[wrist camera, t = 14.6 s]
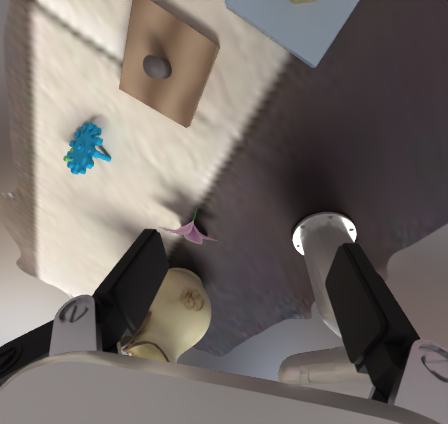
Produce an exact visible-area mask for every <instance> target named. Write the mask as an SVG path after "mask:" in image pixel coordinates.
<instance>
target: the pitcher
mask: <svg viewBox="0 0 448 424" xmlns="http://www.w3.org/2000/svg"><path fill="white" fill-rule="evenodd" d="M210 320H211V303H210V300H209V297H208V295H207V293H206V291H205V289H204V288H203V286H202V282H201V280H200V278H199V277H198V276H197V275H196V274H195V273H193V272H192V271H190V270H187V269H184V268H170V269H169V270H168V272H167V274H166V276H165V278H164V280H163V282H162V284H161V286H160V288H159V290H158V292H157V295H156V297H155V299H154V301H153V303H152V305H151V307H150V309H149V311H148V313H147V315H146V317H145V319H144V321H143V323H142V325H141V327H140V328H139V329H138V330H136V331H135V333H134V335H133V336H128V335H123V336H122V338H121V340H120V345H121V350H123V351H125V352H126V353H127V354H128V355H129V356H136V357H142V358H147V359H153V360H159V361H165V362H171V363H176V361H177V359H178V357H179V356H180V355H181V354H182V353H183V352H185V351H186V350H187V349H189V348H190V347H192V346H193V345H195V344H196V343H197V342H198V341H199V340H200V339H201V338H202V337H203V335H204V334H205V332H206V331H207V329H208V327H209V324H210Z"/></svg>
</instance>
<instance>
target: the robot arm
mask: <svg viewBox="0 0 448 424" xmlns="http://www.w3.org/2000/svg"><path fill="white" fill-rule="evenodd" d="M292 239H293V244H294V246H295V248H296V249H297V250H298V251H299V252H300V253H301V254H303V255H304V258H305V262H306V265H307V269H308V273H309V277H310V281H311V285H312V289H313V292H314V296H315V300H316V304H317V307H318V310H319V313H320V316H321V318H322V319H323V321H324V322H325V323H326V325H327V326H328V327H329V328H330V329H331V330H332V331H334V332H335V333H336V334H337V335H338V336H340V337H341V338H342V339H343V343H344V346H339V347H335V348H332V349H325V350H318V351H311V352H305V353H298V354H295V355H291V356H289V357H287V358H286V359H285V360H284V361H283V362H282V364H281V366H280V369H279V374H278V382H277V381H272V380H266V379H261V378H255V377H250V376H244V375H238V374H233V373H227V372H222V371H216V370H210V369H205V368H199V367H193V366H188V365H182V364H176V363H171V362H165V361H159V360H153V359H147V358H142V357H136V356H129V355H122V353H121V345H120V340H121V338H122V336H123V335H128V336H133V335H134V333H135V331H136V330H138V329H139V328H140V327H141V325H142V323H143V321H144V319H145V317H146V315H147V313H148V311H149V309H150V307H151V305H152V303H153V301H154V299H155V297H156V295H157V292H158V290H159V288H160V286H161V284H162V282H163V280H164V278H165V276H166V274H167V272H168V270H169V264H168V260H167V257H166V253H165V249H164V246H163V242H162V239H161V235H160V233H159V232H157V230H155V229H145V230H143V232H142V233H141V234H140V235H139V237H138V238H137V239H136V240H135V242H134V243H133V244H132V245H131V247H130V248H129V249H128V250H127V252H126V253H125V254H124V255H123V257H122V258H121V259H120V260H119V262H118V263H117V264H116V266H115V267H114V268H113V269H112V271H111V272H110V273H109V274H108V276H107V277H106V278H105V279H104V281H103V282H102V283H101V284H100V286H99V287H98V288H97V289H96V291H95V293H94V294H93V295H92V296H90V295H80V296H77V297H75V298H73V299H71V300H69V301H68V302H66V303H65V304H64V305H63V306H62V307H61V308H60V309H59V310H58V312H57V313H56V315H55V318H54V320H52V321H50V322H48V323H46V324H44V325H42V326H40V327H38V328H36V329H34V330H32V331H30V332H28V333H26V334H24V335H22V336H20V337H18V338H16V339H14V340H12V341H10V342H8V343H6V344H4V345H3V346H1V347H0V424H448V349H447V348H446V347H444V346H442V345H440V344H438V343H436V342H434V341H430V340H426V339H420V337H419V336H418V334H417V333H416V331H415V329H414V328H413V326H412V325H411V323H410V321H409V320H408V318H407V317H406V315H405V314H404V312H403V310H402V309H401V307H400V306H399V304H398V302H397V301H396V300H395V298H394V296H393V295H392V293H391V291H390V290H389V288H388V287H387V285H386V284H385V282H384V280H383V279H382V277H381V276H380V275H379V274H377V272H376V271H375V269H374V268H373V266H372V264H371V263H370V261H369V260H368V258H367V256H366V255H365V253H364V251H363V250H362V248H361V247H360V245H359V244H355V242H354V241H355V239H356V228H355V226H354V224H353V223H352V221H351V220H350V219H349V218H348V217H346V216H344V215H342V214H339V213H335V212H320V213H316V214H312V215H310V216H308V217H306V218H304V219H303V220H301V221H300V222H299V223H298V224H297V226H296V227H295V229H294V231H293V235H292Z"/></svg>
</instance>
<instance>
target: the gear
mask: <svg viewBox="0 0 448 424" xmlns="http://www.w3.org/2000/svg"><path fill="white" fill-rule="evenodd" d="M97 135H98V136H100V135H101V129H100V128H98V127H97V126H96V125H95V124H93V123H91V122H90V123H89V126H88V125H86V124H83V125H82V131H80V130H77V131H76V132H75V136H76V141H74V140H71V142H70V144H69V145H70V146H71V147H73V148H71V149H70V151H68V153H67V156H64V161H67V162H68V163H67V167H68V168H71V172H72V173H73V174H77V175H78V173H81V174H85V173H86V168H89V169H91V168H92V167H93V166H94V162H93V161H92V157H95V158H98V157H99V158H101V159H104V160H106V161H108V162H109V161H110V160H111V157H109V156H107V155H105V154H102V153H100V152H99V151H97V150H96V149H95V145H96V144H97V145H99V146H101V145H102V142H103V139H101V138H99V137H96V136H97ZM95 137H96V138H95Z"/></svg>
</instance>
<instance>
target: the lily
mask: <svg viewBox="0 0 448 424" xmlns="http://www.w3.org/2000/svg"><path fill="white" fill-rule="evenodd" d="M197 208H198V206H197V207H196V211H195V214H194V218H193V221H192V222H191V223H189V224H187V225H185V226H183V227H180V228H179V229H177V230H170V229H166V228H162V227H159V228H161V229H163V230H166V231H169V232H172V233H176V234H183V235H184V236H185V238H186V239H188V240H190V241H192V242H194V243H197V244H202V238H204V239H208V240H214V239H211V238H208V236H204V235H202V234H201V233H200V232H199V231H198V230H197V228H196V227H195V225H194V219H195V216H196V212H197ZM215 241H218V240H215Z"/></svg>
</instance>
